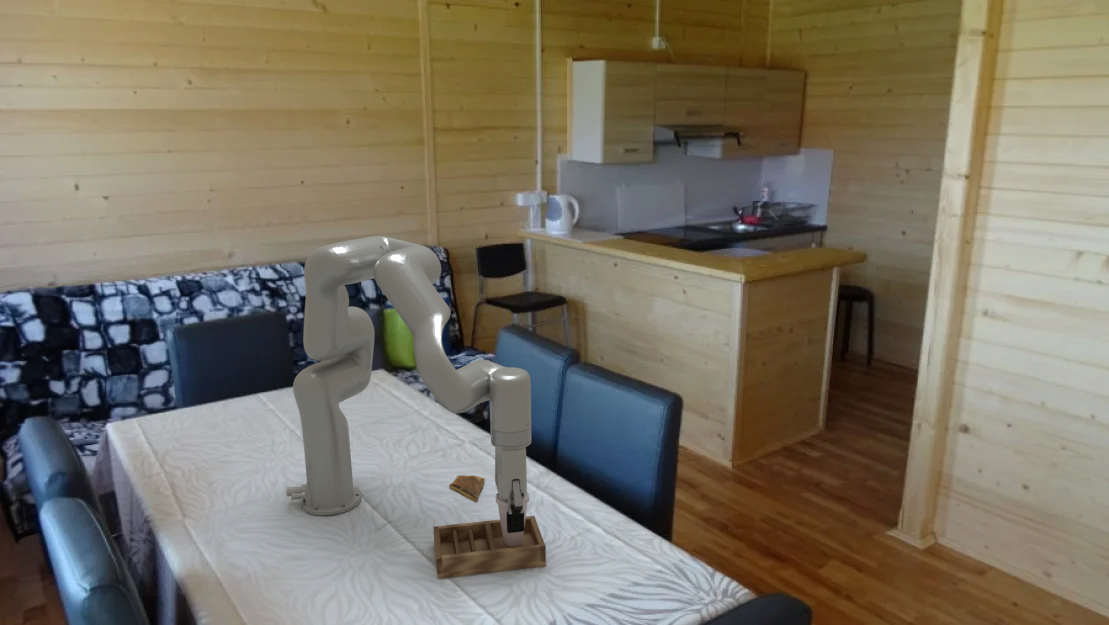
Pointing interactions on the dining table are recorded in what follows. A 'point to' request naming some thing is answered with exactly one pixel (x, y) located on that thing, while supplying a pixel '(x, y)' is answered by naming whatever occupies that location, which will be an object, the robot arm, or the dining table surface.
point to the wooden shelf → (485, 548)
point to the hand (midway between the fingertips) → (512, 521)
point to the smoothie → (508, 538)
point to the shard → (468, 486)
